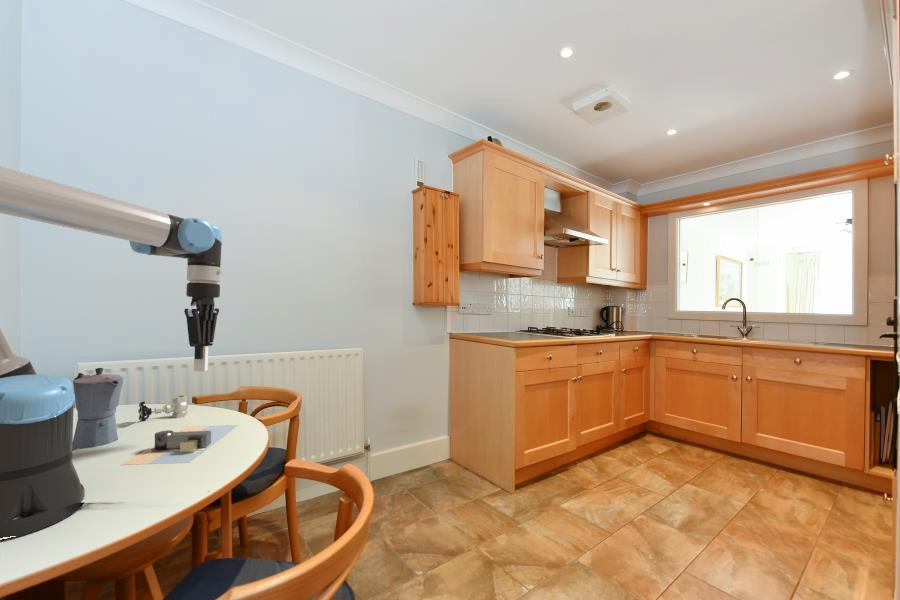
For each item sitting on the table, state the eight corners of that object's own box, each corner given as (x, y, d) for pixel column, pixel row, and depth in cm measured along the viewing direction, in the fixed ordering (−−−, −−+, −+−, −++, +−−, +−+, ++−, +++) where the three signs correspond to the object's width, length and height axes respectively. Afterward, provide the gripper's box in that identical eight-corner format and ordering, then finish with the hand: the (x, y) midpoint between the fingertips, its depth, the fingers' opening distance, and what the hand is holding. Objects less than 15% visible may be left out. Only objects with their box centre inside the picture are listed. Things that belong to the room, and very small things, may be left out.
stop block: (193, 452, 90) (193, 442, 90) (179, 453, 90) (180, 442, 90) (197, 450, 92) (197, 439, 92) (183, 450, 91) (184, 440, 91)
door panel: (189, 467, 85) (189, 461, 85) (120, 470, 83) (120, 463, 83) (239, 429, 110) (239, 424, 110) (187, 430, 109) (187, 425, 109)
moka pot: (96, 457, 90) (98, 372, 90) (46, 451, 93) (48, 369, 93) (137, 442, 99) (138, 366, 99) (90, 437, 102) (92, 363, 102)
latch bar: (151, 450, 90) (151, 435, 90) (159, 444, 94) (160, 430, 94) (205, 448, 92) (205, 433, 92) (211, 442, 96) (212, 428, 96)
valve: (184, 413, 125) (138, 421, 116) (185, 393, 125) (138, 400, 116) (190, 417, 121) (142, 426, 112) (190, 397, 121) (142, 404, 112)
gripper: (205, 281, 96) (202, 375, 95) (229, 284, 109) (227, 367, 108) (173, 280, 95) (170, 375, 94) (201, 283, 108) (199, 366, 107)
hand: (200, 370), depth 101 cm, fingers closed
